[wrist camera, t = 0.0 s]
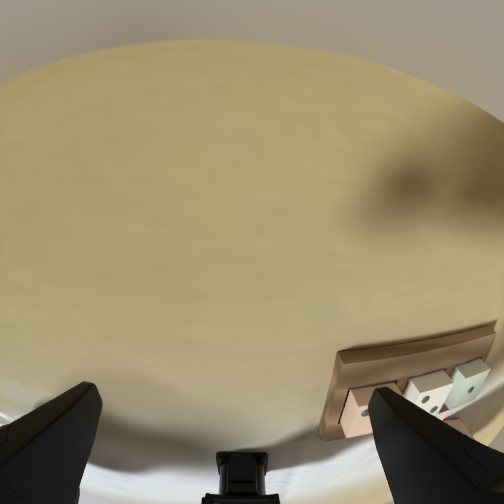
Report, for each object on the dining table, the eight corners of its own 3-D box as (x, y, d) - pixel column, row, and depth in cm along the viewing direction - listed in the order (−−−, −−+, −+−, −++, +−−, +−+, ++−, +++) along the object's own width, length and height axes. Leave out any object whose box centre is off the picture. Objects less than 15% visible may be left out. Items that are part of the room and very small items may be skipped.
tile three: (380, 413, 25) (389, 429, 22) (340, 420, 25) (346, 438, 22) (393, 381, 24) (404, 398, 21) (350, 388, 23) (358, 407, 21)
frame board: (456, 396, 28) (463, 404, 26) (318, 429, 27) (321, 441, 25) (487, 325, 25) (496, 332, 23) (337, 351, 24) (343, 364, 22)
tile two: (428, 400, 25) (437, 414, 22) (395, 409, 25) (404, 425, 22) (443, 369, 24) (454, 383, 21) (409, 378, 24) (420, 394, 21)
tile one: (465, 387, 25) (475, 399, 23) (440, 397, 25) (449, 410, 23) (479, 357, 24) (491, 369, 21) (454, 366, 24) (466, 379, 21)
